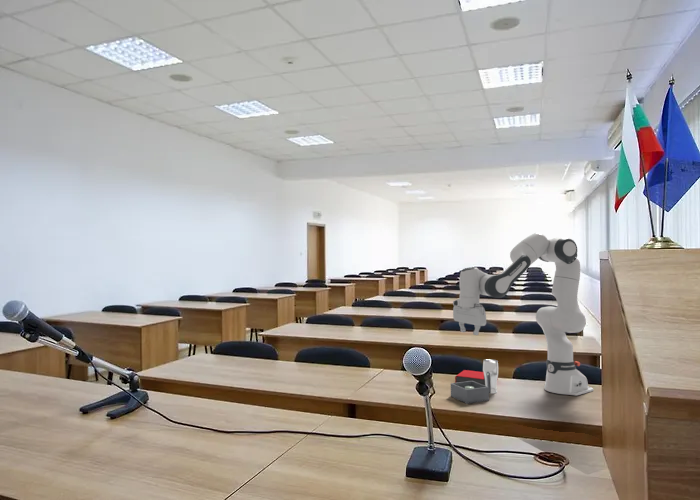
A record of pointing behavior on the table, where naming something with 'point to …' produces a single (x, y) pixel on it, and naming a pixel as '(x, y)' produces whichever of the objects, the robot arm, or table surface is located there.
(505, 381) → the table surface
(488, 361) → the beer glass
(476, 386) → the bin
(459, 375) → the red device housing
